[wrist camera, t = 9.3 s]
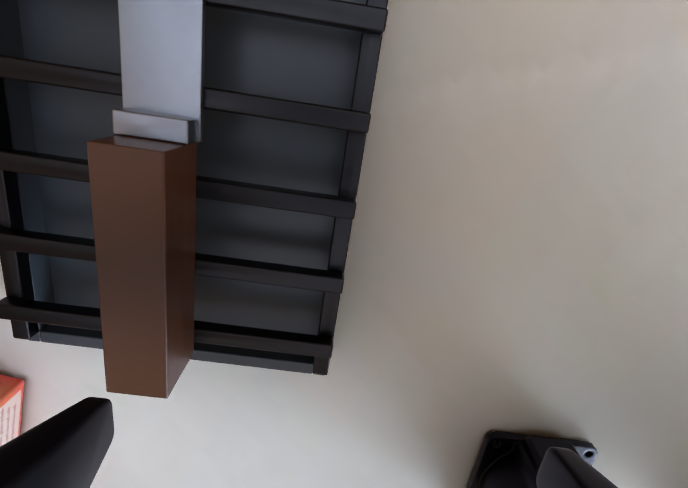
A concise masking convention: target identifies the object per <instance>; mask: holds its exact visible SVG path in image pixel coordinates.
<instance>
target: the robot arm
mask: <svg viewBox="0 0 688 488" xmlns="http://www.w3.org/2000/svg"><path fill="white" fill-rule="evenodd" d="M113 435H114V422H113V411H112V403H111V401H110V400H109V399H106V398H96V397H88V398H86V399H83V400H82V401H80V402H78V403H76V404H75V405H73V406H71V407H69V408H67V409H66V410H64V411H62V412H60V413H59V414H57V415H55V416H53V417H52V418H50V419H48V420H46V421H44V422H43V423H41V424H39V425H37V426H36V427H34V428H32V429H30V430H28V431H27V432H25V433H23V434H21V435H20V436H18V437H16V438H14V439H13V440H11V441H9V442H7V443H5V444H4V445H2V446H0V488H89V487H90V485H91V483H92V481H93V479H94V477H95V475H96V473H97V471H98V469H99V467H100V465H101V463H102V461H103V459H104V457H105V455H106V453H107V450H108V448H109V446H110V444H111V442H112V439H113ZM597 453H598V452H597V450H596V448H595V447H594V446H593V444H592V443H590V442H584V441H575V440H566V439H558V438H549V437H540V436H531V435H522V434H513V433H505V432H490V433H488V434H487V435H486V436H485V438H484V441H483V444H482V447H481V449H480V452H479V455H478V458H477V461H476V463H475V466H474V469H473V472H472V474H471V477H470V480H469V483H468V486H467V488H618V487H616V486H615V485H614V484H613V483H612V482H610V481H609V480H608V479H607V478H605V477H604V476H603V475H602V474H601V473H599V472H598V471H597V470H596V469H594V468H593V467H592V464H593V462H594V460H595V458H596V456H597Z"/></svg>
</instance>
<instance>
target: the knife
mask: <svg viewBox="0 0 688 488" xmlns="http://www.w3.org/2000/svg"><path fill="white" fill-rule="evenodd" d="M205 5H206V0H118V16H119V37H120V58H121V79H122V100H123V108H118V109H113V110H112V120H113V133H114V134H116V136H111V137H106V138H100V139H95V140H90V141H87V153H88V165H89V177H90V190H91V202H92V215H93V227H94V240H95V252H96V264H97V277H98V289H99V302H100V314H101V327H102V339H103V351H104V364H105V376H106V389H107V392H113V393H122V394H131V395H140V396H149V397H158V398H168V396H169V394H170V393H171V391H172V389H173V387H174V386H175V384H176V382H177V380H178V379H179V377H180V375H181V373H182V372H183V370H184V368H185V366H186V365H187V363H188V361H189V359H190V358H191V356H192V354H193V352H194V290H195V223H196V157H197V142H202V141H203V103H204V54H205Z"/></svg>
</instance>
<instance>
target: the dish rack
mask: <svg viewBox="0 0 688 488" xmlns="http://www.w3.org/2000/svg"><path fill="white" fill-rule="evenodd" d="M387 5H388V0H206V5H205V54H204V103H203V141H202V142H197V157H196V223H195V290H194V352H193V354H192V356H191V358H190V359H192V360H200V361H209V362H217V363H226V364H234V365H243V366H251V367H260V368H268V369H276V370H285V371H293V372H302V373H310V374H312V373H313V374H317V375H327V373H328V367H329V361H330V358H331V356H332V350H333V337H334V330H335V324H336V318H337V312H338V306H339V300H340V294H341V293H342V289H343V283H344V269H345V263H346V257H347V251H348V244H349V238H350V232H351V226H352V220H353V219H354V216H355V210H356V195H357V189H358V183H359V177H360V171H361V165H362V158H363V152H364V146H365V140H366V134H367V133H368V130H369V124H370V118H371V114H370V109H371V103H372V97H373V91H374V85H375V79H376V73H377V66H378V60H379V54H380V48H381V42H382V36H383V33H384V31H385V27H386V21H387V14H388V9H387ZM118 108H123V100H122V79H121V58H120V37H119V16H118V0H0V260H1V266H2V272H3V277H4V283H5V289H6V295H7V297H5V298H3V299H2V300H0V319H8V320H11V324H12V330H13V336H14V338H20V339H28V340H32V341H42V342H48V343H57V344H65V345H74V346H82V347H91V348H99V349H103V339H102V327H101V314H100V302H99V289H98V277H97V264H96V252H95V240H94V227H93V215H92V202H91V190H90V177H89V165H88V153H87V141H90V140H95V139H100V138H106V137H111V136H116V134H114V133H113V120H112V110H113V109H118Z"/></svg>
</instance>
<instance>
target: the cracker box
mask: <svg viewBox="0 0 688 488" xmlns="http://www.w3.org/2000/svg"><path fill="white" fill-rule="evenodd" d="M24 383H25V381H24V380H23V379H18V378H14V377H10V376H5V375H2V374H0V446H2V445H4V444H5V443H7V442H9V441H11V440H13V439H14V438H16V437H18V436H20V425H21V415H22V403H23V391H24Z"/></svg>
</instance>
